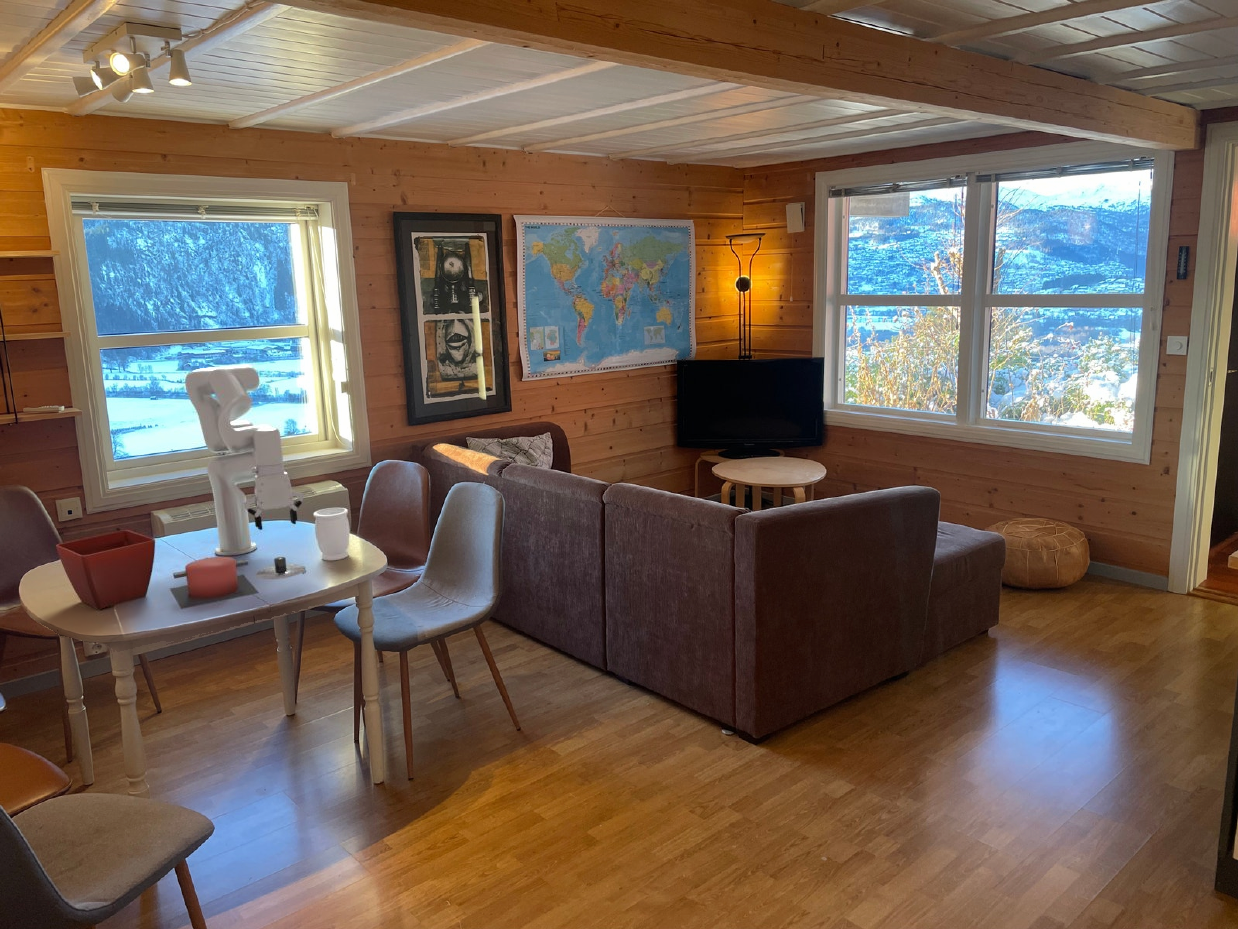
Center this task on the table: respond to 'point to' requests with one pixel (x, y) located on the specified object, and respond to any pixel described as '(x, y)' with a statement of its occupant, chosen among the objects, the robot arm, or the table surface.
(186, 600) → the plate
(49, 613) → the table surface
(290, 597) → the table surface
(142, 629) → the table surface
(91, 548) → the plant pot
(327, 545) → the jar
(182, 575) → the pot
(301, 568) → the lid
